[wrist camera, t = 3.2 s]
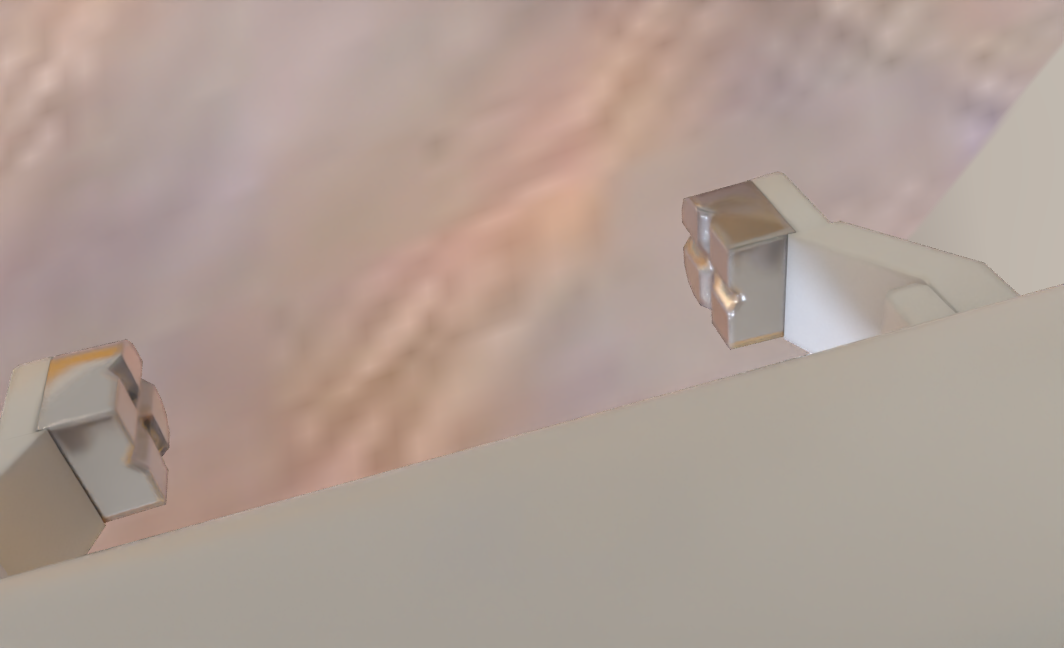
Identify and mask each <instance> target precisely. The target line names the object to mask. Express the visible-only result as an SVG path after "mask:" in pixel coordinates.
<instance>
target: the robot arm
mask: <svg viewBox="0 0 1064 648" xmlns="http://www.w3.org/2000/svg"><path fill="white" fill-rule="evenodd" d="M682 223H683V224H684V226H685V227H686V229H687V230H688V232H689V233H690V235H691V236H690V237H689V239H688V241H687V242H686V244H685V246H684V247H683V251H684V264H685V270H686V274H687V278H688V282H689V285H690V287H691V289H692V292H693V294H694V296H695V298H696V299H697V301H698V302H699V304H700V305H701V306H703V307H706V308H708V309H711V310H712V324H713V325H714V327H715V328H716V330H717V331H718V333H719V334H720V336H721V337H722V339H723V340H724V342H725V343H726V345H727V346H728V348H729V349H730V350H731V349H735V348H739V347H743V346H747V345H751V344H755V343H759V342H763V341H767V340H771V339H775V338H779V337H783V336H784V339H785V340H787V341H789V342H791V343H793V344H795V345H797V346H799V347H801V348H802V349H804V350H806V351H808V352H810V353H811V354H808V355H804V356H801V357H797V358H793V359H790V360H786V361H783V362H779V363H775V364H772V365H768V366H765V367H761V368H757V369H754V370H750V371H747V372H743V373H739V374H736V375H732V376H729V377H725V378H721V379H718V380H714V381H711V382H707V383H703V384H700V385H696V386H693V387H689V388H685V389H682V390H678V391H675V392H671V393H667V394H664V395H660V396H657V397H653V398H649V399H646V400H642V401H639V402H635V403H631V404H628V405H624V406H621V407H617V408H613V409H610V410H606V411H603V412H599V413H595V414H592V415H588V416H585V417H581V418H577V419H574V420H570V421H566V422H563V423H559V424H556V425H552V426H548V427H545V428H541V429H538V430H534V431H530V432H527V433H523V434H520V435H516V436H512V437H509V438H505V439H502V440H498V441H494V442H491V443H487V444H484V445H480V446H476V447H473V448H469V449H466V450H462V451H458V452H455V453H451V454H448V455H444V456H440V457H437V458H433V459H430V460H426V461H422V462H419V463H415V464H411V465H408V466H404V467H401V468H397V469H393V470H390V471H386V472H383V473H379V474H375V475H372V476H368V477H365V478H361V479H357V480H354V481H350V482H347V483H343V484H339V485H336V486H332V487H329V488H325V489H321V490H318V491H314V492H311V493H307V494H303V495H300V496H296V497H293V498H289V499H285V500H282V501H278V502H274V503H271V504H267V505H264V506H260V507H256V508H253V509H249V510H246V511H242V512H238V513H235V514H231V515H228V516H224V517H220V518H217V519H213V520H210V521H206V522H202V523H199V524H195V525H192V526H188V527H184V528H181V529H177V530H174V531H170V532H166V533H163V534H159V535H156V536H152V537H148V538H145V539H141V540H137V541H134V542H130V543H127V544H123V545H119V546H116V547H112V548H109V549H105V550H101V551H98V552H94V553H91V554H87V553H88V551H89V550H90V548H91V547H92V545H93V544H94V542H95V541H96V539H97V538H98V536H99V535H100V533H101V532H102V530H103V529H104V527H105V526H106V525H105V524H104V523H105V522H109V521H112V520H115V519H119V518H122V517H125V516H129V515H132V514H135V513H139V512H142V511H145V510H149V509H152V508H155V507H159V506H162V505H165V504H166V498H167V481H168V469H167V467H166V465H165V463H164V461H163V459H162V456H163V455H164V453H165V452H166V451H167V450H168V448H169V437H170V432H169V426H168V421H167V415H166V411H165V408H164V406H163V403H162V400H161V397H160V395H159V393H158V391H157V389H156V387H155V385H153V384H151V383H150V382H148V381H146V380H144V379H142V378H141V377H142V363H143V361H142V359H141V358H140V356H139V354H138V352H137V350H136V348H135V347H134V345H133V343H131V342H130V341H128V340H127V339H125V340H121V341H117V342H112V343H108V344H104V345H100V346H95V347H91V348H87V349H82V350H78V351H74V352H70V353H65V354H61V355H57V356H55V357H48V358H44V359H40V360H36V361H33V362H29V363H25V364H21V365H18V366H17V367H16V368H15V369H13V371H12V374H11V378H10V382H9V386H8V390H7V394H6V398H5V402H4V405H3V409H2V413H1V417H0V648H1064V284H1061V285H1057V286H1054V287H1050V288H1046V289H1043V290H1040V291H1036V292H1032V293H1028V294H1025V295H1022V296H1020V295H1019V294H1018V293H1017V292H1016V291H1014V289H1012V288H1011V287H1010V286H1009V285H1008V284H1007V283H1006V282H1005V281H1004V280H1003V279H1002V278H1000V277H999V276H998V275H997V274H996V273H995V272H994V271H993V270H992V269H991V268H989V267H988V266H987V265H986V264H985V263H983V262H980V261H976V260H973V259H969V258H966V257H962V256H959V255H956V254H952V253H948V252H945V251H942V250H938V249H935V248H932V247H928V246H925V245H921V244H918V243H914V242H911V241H908V240H904V239H901V238H897V237H894V236H890V235H887V234H883V233H880V232H876V231H873V230H870V229H866V228H863V227H859V226H856V225H852V224H849V223H845V222H842V221H839V222H835V223H831V222H830V221H829V220H828V219H827V218H826V217H825V216H824V215H823V214H822V213H821V212H820V211H819V210H818V209H817V208H816V207H815V206H814V205H813V204H812V203H811V202H810V201H809V199H808V198H807V197H806V196H805V195H804V194H803V193H802V192H801V191H800V190H799V189H798V188H797V187H796V186H795V185H794V184H793V183H792V182H791V181H790V180H789V179H788V178H787V177H786V175H785V174H784V173H780V172H775V173H771V174H768V175H764V176H761V177H757V178H754V179H751V180H747V181H746V182H742V183H738V184H735V185H731V186H727V187H724V188H720V189H716V190H713V191H709V192H705V193H702V194H698V195H695V196H691V197H687V198H684V199H683V204H682ZM86 554H87V555H86Z"/></svg>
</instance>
